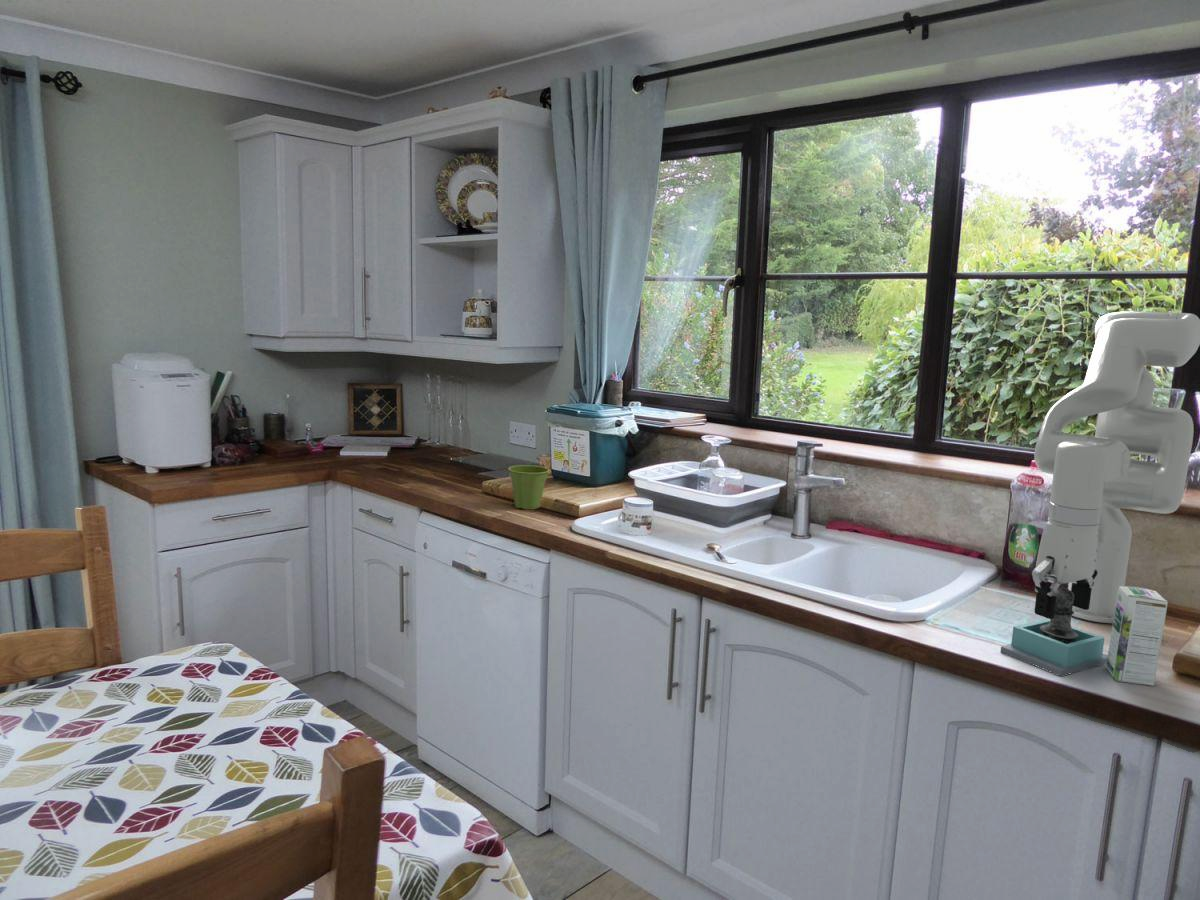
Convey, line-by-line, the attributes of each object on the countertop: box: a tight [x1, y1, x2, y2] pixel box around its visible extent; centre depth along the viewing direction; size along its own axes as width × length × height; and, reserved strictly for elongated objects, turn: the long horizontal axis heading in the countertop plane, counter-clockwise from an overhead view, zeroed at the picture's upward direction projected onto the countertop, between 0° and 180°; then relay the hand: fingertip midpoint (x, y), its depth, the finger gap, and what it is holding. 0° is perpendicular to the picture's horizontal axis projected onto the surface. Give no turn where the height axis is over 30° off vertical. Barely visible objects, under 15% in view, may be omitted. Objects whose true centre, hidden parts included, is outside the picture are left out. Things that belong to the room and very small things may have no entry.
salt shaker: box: [1040, 583, 1079, 644], centre depth 143 cm, size 6×6×12 cm
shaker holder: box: [1000, 618, 1108, 677], centre depth 144 cm, size 14×11×4 cm
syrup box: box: [1105, 586, 1169, 687], centre depth 136 cm, size 6×6×14 cm
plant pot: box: [507, 464, 551, 511], centre depth 240 cm, size 12×12×11 cm
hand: (1061, 611), depth 144 cm, fingers open, 9 cm apart
